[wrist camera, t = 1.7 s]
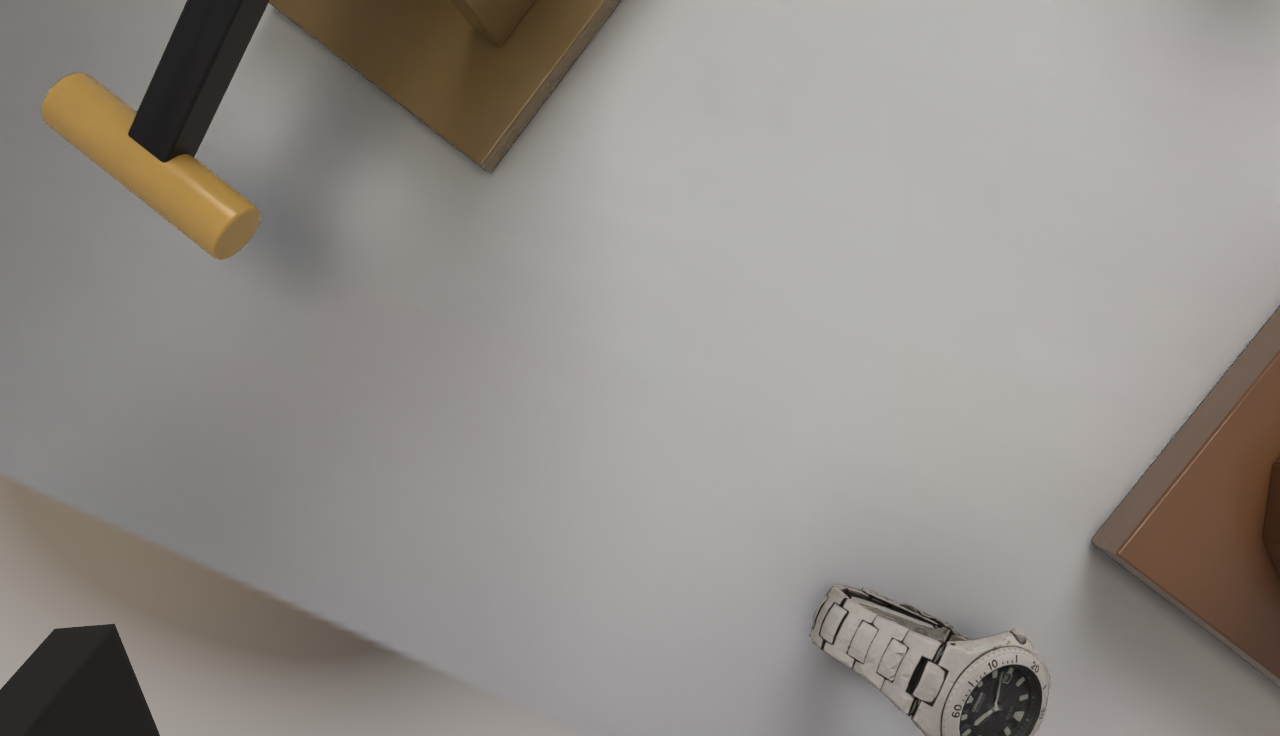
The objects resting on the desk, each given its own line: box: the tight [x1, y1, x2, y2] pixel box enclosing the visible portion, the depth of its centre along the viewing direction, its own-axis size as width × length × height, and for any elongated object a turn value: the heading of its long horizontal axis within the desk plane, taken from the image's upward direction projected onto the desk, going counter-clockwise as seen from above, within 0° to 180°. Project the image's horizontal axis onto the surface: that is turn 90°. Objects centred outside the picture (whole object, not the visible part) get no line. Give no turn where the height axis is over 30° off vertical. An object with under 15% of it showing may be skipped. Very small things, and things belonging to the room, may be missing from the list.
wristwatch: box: [809, 585, 1050, 736], centre depth 29 cm, size 4×6×5 cm, turn 65°
